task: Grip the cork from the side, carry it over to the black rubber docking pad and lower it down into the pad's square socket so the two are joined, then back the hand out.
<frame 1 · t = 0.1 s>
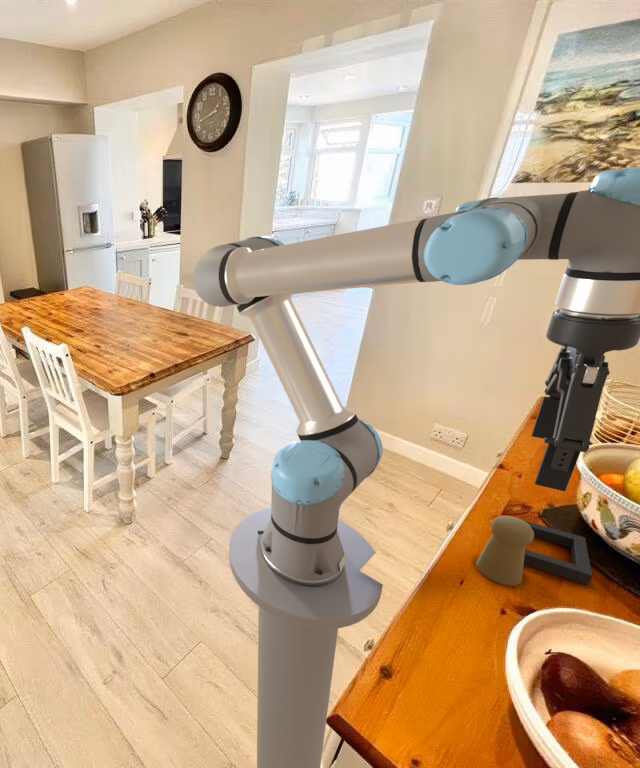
hand: (546, 460, 56), 27 cm above the sideboard, tool pointing down, fingers open, 13 cm apart
cork: (498, 571, 70), on the sideboard
dock pad: (543, 552, 73), on the sideboard
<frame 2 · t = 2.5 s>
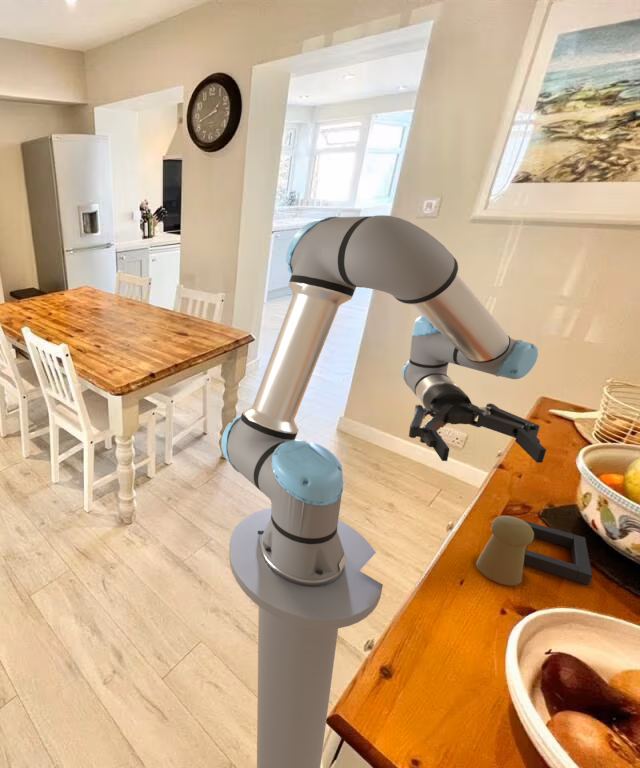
hand: (492, 455, 70), 19 cm above the sideboard, tool horizontal, fingers open, 13 cm apart
nothing on the sideboard moved.
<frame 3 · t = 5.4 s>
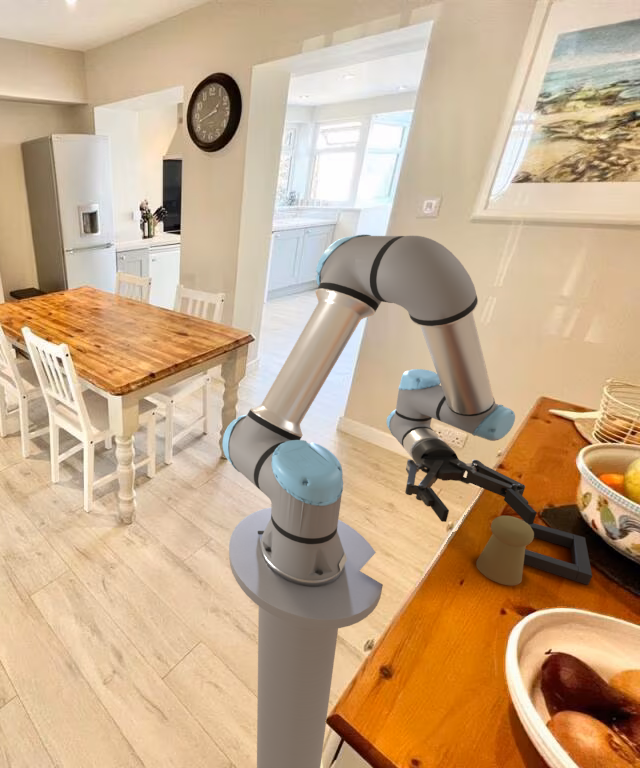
hand: (488, 517, 73), 7 cm above the sideboard, tool horizontal, fingers open, 13 cm apart
nothing on the sideboard moved.
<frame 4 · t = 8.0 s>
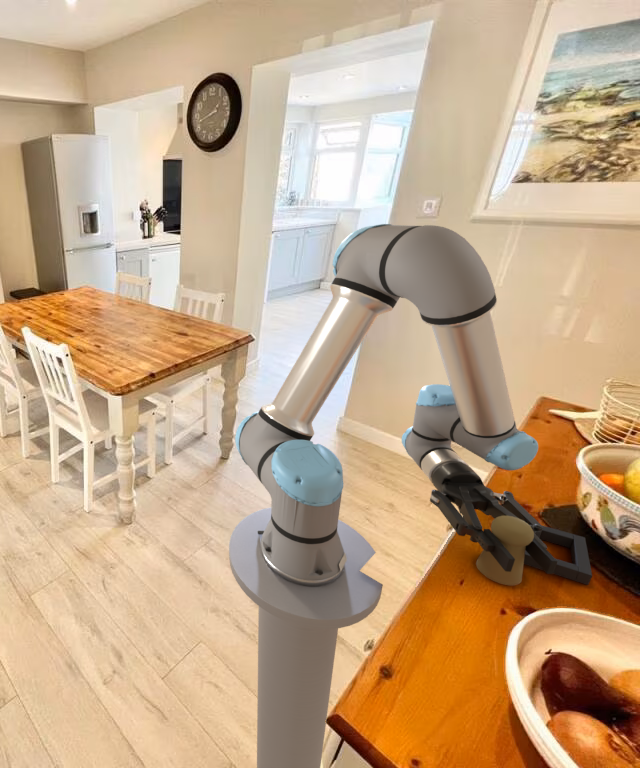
hand: (530, 566, 63), 7 cm above the sideboard, tool horizontal, fingers closed on cork, 5 cm apart
cork: (498, 571, 70), on the sideboard, touching gripper
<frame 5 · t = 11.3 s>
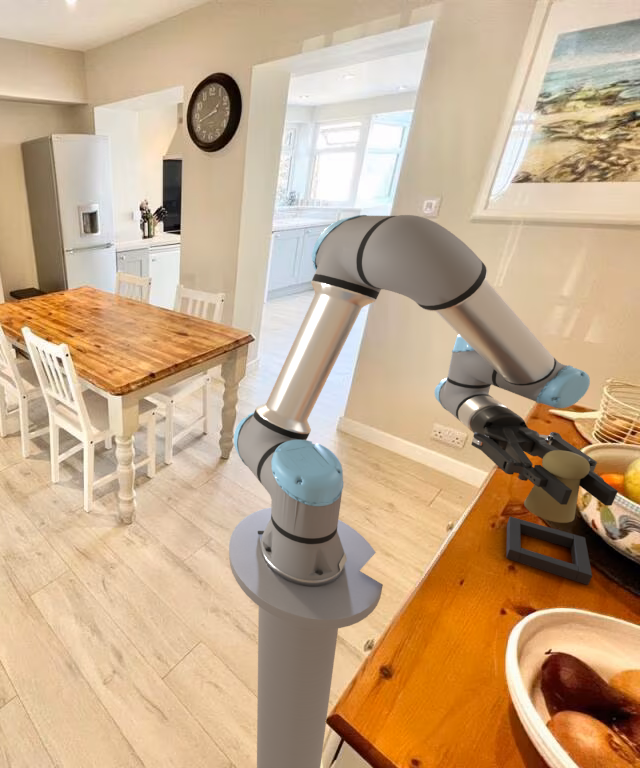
hand: (588, 497, 60), 18 cm above the sideboard, tool horizontal, fingers closed on cork, 5 cm apart
cork: (548, 510, 68), point 11 cm above the sideboard, touching gripper
when the fingers open (7 cm above the sideboard, at t = 14.8 s): cork stays where it is, resting in dock pad.
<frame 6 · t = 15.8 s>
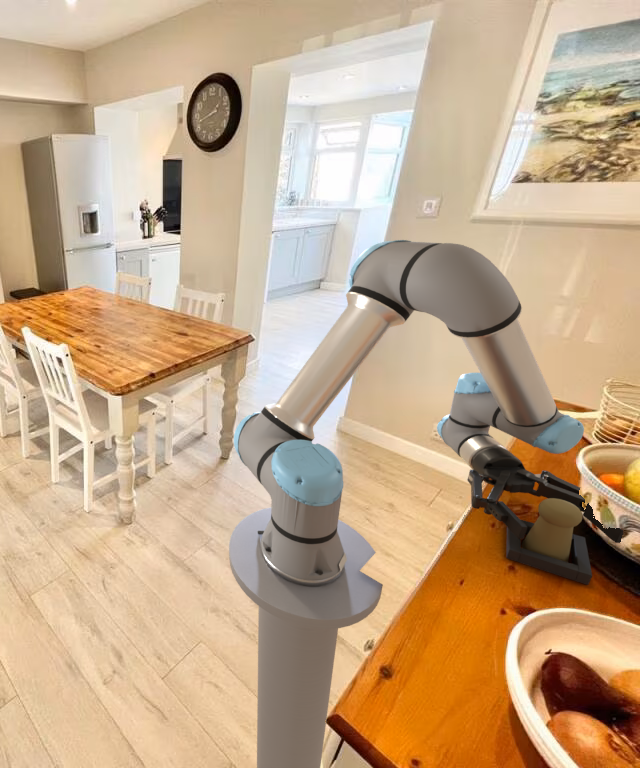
hand: (571, 535, 67), 7 cm above the sideboard, tool horizontal, fingers open, 13 cm apart
cork: (543, 553, 73), resting in dock pad
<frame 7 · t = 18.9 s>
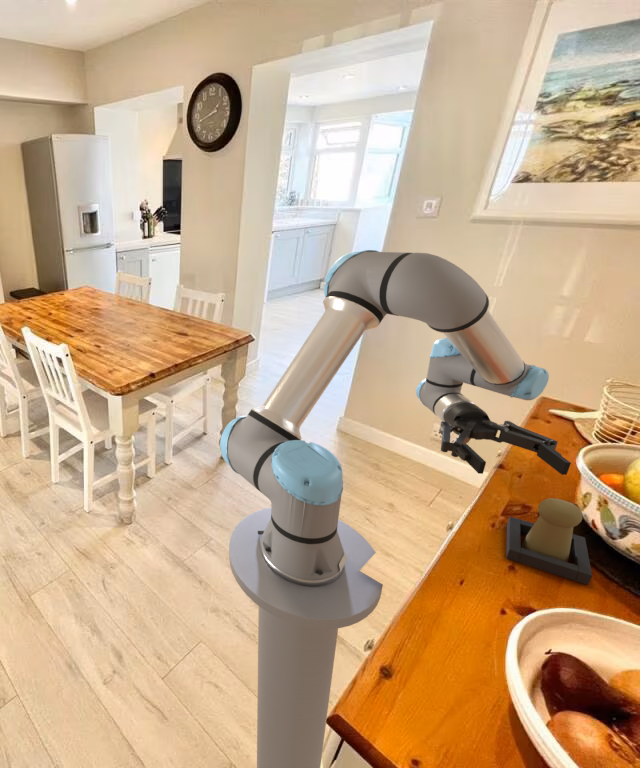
hand: (523, 468, 77), 12 cm above the sideboard, tool horizontal, fingers open, 13 cm apart
nothing on the sideboard moved.
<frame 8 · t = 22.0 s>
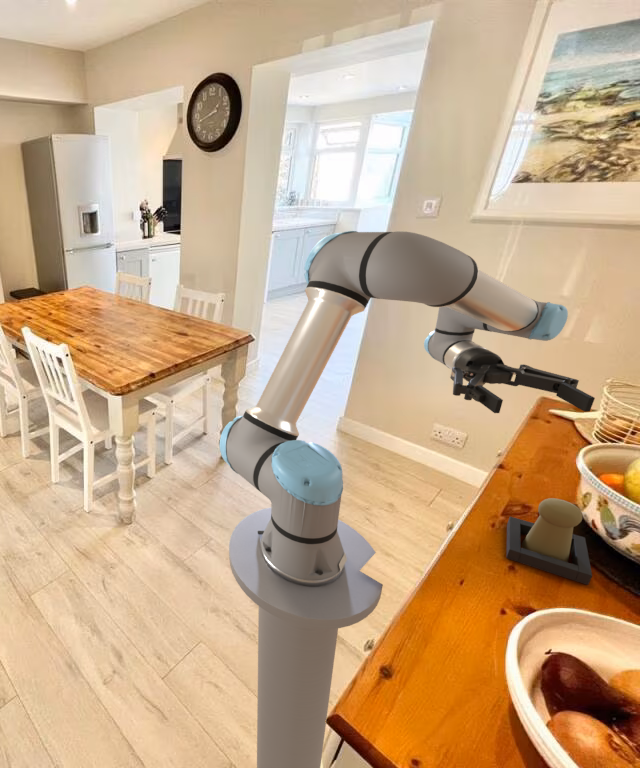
hand: (543, 405, 71), 25 cm above the sideboard, tool horizontal, fingers open, 13 cm apart
nothing on the sideboard moved.
at the end: cork 0.0 cm off-centre in the dock pad, point 0.0 cm above the dock pad's base; cork tilted 0°; the gripper is holding nothing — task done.
